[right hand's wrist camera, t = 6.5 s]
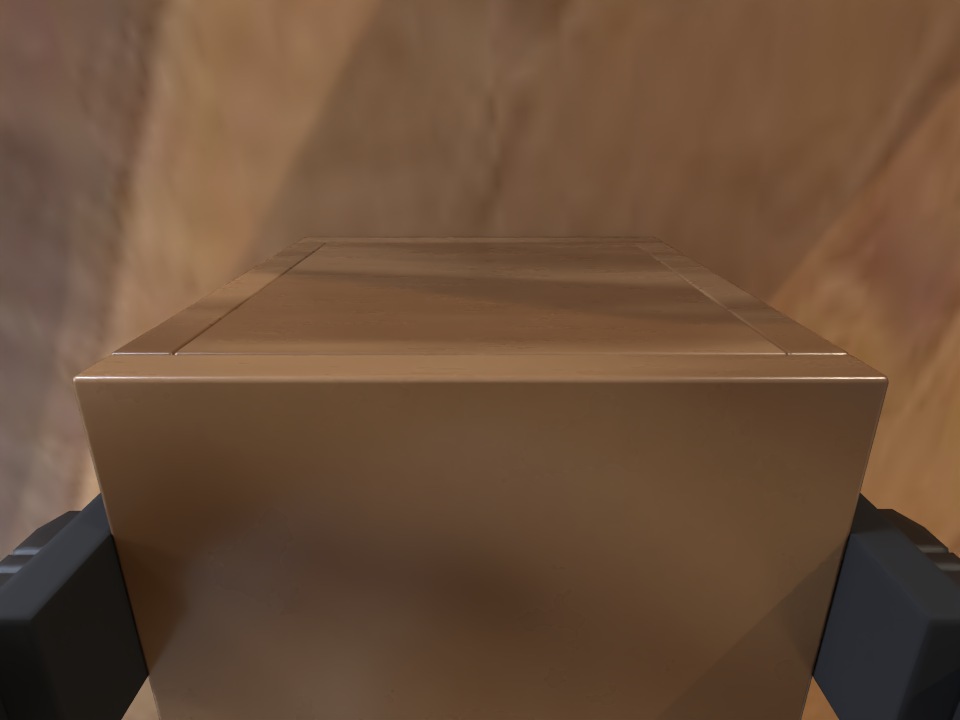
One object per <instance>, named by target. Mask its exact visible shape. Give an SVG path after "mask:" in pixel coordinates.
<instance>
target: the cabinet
mask: <svg viewBox="0 0 960 720" xmlns="http://www.w3.org/2000/svg"><path fill="white" fill-rule="evenodd" d="M72 383H73V387H74V391H75V395H76V399H77V403H78V406H79V410H80V414H81V418H82V422H83V426H84V430H85V433H86V437H87V441H88V445H89V449H90V453H91V457H92V460H93V464H94V468H95V472H96V476H97V480H98V484H99V487H100V491H101V495H102V499H103V503H104V507H105V511H106V514H107V518H108V522H109V526H110V530H111V534H112V538H113V541H114V545H115V549H116V553H117V557H118V561H119V565H120V569H121V572H122V576H123V580H124V584H125V588H126V592H127V596H128V599H129V603H130V607H131V611H132V615H133V619H134V623H135V626H136V630H137V634H138V638H139V642H140V646H141V650H142V653H143V657H144V661H145V665H146V669H147V673H148V677H149V680H150V684H151V688H152V692H153V696H154V700H155V704H156V707H157V711H158V715H159V719H160V720H801V717H802V713H803V710H804V706H805V702H806V698H807V694H808V690H809V686H810V683H811V679H812V675H813V671H814V667H815V663H816V660H817V656H818V652H819V648H820V644H821V640H822V636H823V633H824V629H825V625H826V621H827V617H828V613H829V610H830V606H831V602H832V598H833V594H834V590H835V586H836V583H837V579H838V575H839V571H840V567H841V563H842V560H843V556H844V552H845V548H846V544H847V540H848V536H849V533H850V529H851V525H852V521H853V517H854V513H855V510H856V506H857V502H858V498H859V494H860V490H861V486H862V483H863V479H864V475H865V471H866V467H867V463H868V460H869V456H870V452H871V448H872V444H873V440H874V437H875V433H876V429H877V425H878V421H879V417H880V413H881V410H882V406H883V402H884V398H885V394H886V390H887V387H888V378H887V376H885V375H883V374H882V373H880V372H878V371H877V370H875V369H873V368H872V367H870V366H868V365H867V364H865V363H863V362H862V361H860V360H858V359H857V358H855V357H853V356H851V355H848V353H847V352H846V351H844V350H842V349H841V348H839V347H837V346H836V345H834V344H832V343H831V342H829V341H827V340H825V339H824V338H822V337H820V336H819V335H817V334H815V333H814V332H812V331H810V330H809V329H807V328H805V327H804V326H802V325H800V324H799V323H797V322H795V321H794V320H792V319H790V318H789V317H787V316H785V315H784V314H782V313H780V312H779V311H777V310H775V309H774V308H772V307H770V306H769V305H767V304H765V303H764V302H762V301H760V300H759V299H757V298H755V297H754V296H752V295H750V294H749V293H747V292H745V291H744V290H742V289H740V288H738V287H737V286H735V285H733V284H732V283H730V282H728V281H727V280H725V279H723V278H722V277H720V276H718V275H717V274H715V273H713V272H712V271H710V270H708V269H707V268H705V267H703V266H702V265H700V264H698V263H697V262H695V261H693V260H692V259H690V258H688V257H687V256H685V255H683V254H682V253H680V252H678V251H677V250H675V249H673V248H672V247H670V246H668V245H667V244H665V243H663V242H662V241H660V240H658V239H657V238H655V237H305V238H303V239H302V240H300V241H298V242H297V243H295V244H293V245H291V246H290V247H288V248H286V249H285V250H283V251H281V252H280V253H278V254H276V255H275V256H273V257H271V258H270V259H268V260H266V261H265V262H263V263H261V264H260V265H258V266H256V267H255V268H253V269H251V270H250V271H248V272H246V273H245V274H243V275H241V276H240V277H238V278H236V279H235V280H233V281H231V282H230V283H228V284H226V285H225V286H223V287H221V288H220V289H218V290H216V291H215V292H213V293H211V294H210V295H208V296H206V297H205V298H203V299H201V300H200V301H198V302H196V303H195V304H193V305H191V306H190V307H188V308H186V309H185V310H183V311H181V312H180V313H178V314H176V315H175V316H173V317H171V318H170V319H168V320H166V321H164V322H163V323H161V324H159V325H158V326H156V327H154V328H153V329H151V330H149V331H148V332H146V333H144V334H143V335H141V336H139V337H138V338H136V339H134V340H133V341H131V342H129V343H128V344H126V345H124V346H123V347H121V348H119V349H118V350H116V351H114V352H113V353H112V355H110V356H108V357H106V358H104V359H103V360H101V361H99V362H98V363H96V364H94V365H93V366H91V367H89V368H88V369H86V370H84V371H83V372H81V373H79V374H78V375H76V376H74V378H73V382H72Z"/></svg>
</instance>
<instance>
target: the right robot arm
mask: <svg viewBox="0 0 960 720" xmlns="http://www.w3.org/2000/svg"><path fill="white" fill-rule="evenodd" d="M812 676H813V677H814V679H815V681H816V682H817V684H818V685H819V687H820V689H821V690H822V692H823V694H824V695H825V697H826V699H827V700H828V702H829V703H830V705H831V707H832V708H833V710H834V712H835V713H836V715H837V717H838V718H839V720H960V559H959V558H958V557H957V556H956V555H955V554H954V553H949V552H948V548H947V547H946V546H945V545H944V544H943V543H941V542H940V541H939V540H938V539H937V538H936V537H935V536H934V535H932V534H931V533H930V532H929V531H928V530H927V529H926V528H925V527H923V526H921V525H919V524H918V523H916V522H914V521H912V520H910V519H909V518H907V517H905V516H903V515H902V514H900V513H898V512H896V511H894V510H893V509H877V508H876V507H875V506H874V505H873V504H871V503H870V502H869V501H868V500H867V499H866V498H865V497H864V496H863V495H862V494H861V493H860V494H859V498H858V502H857V506H856V510H855V513H854V517H853V521H852V525H851V529H850V533H849V536H848V540H847V544H846V548H845V552H844V556H843V560H842V563H841V567H840V571H839V575H838V579H837V583H836V586H835V590H834V594H833V598H832V602H831V606H830V610H829V613H828V617H827V621H826V625H825V629H824V633H823V636H822V640H821V644H820V648H819V652H818V656H817V660H816V663H815V667H814V671H813V675H812ZM147 677H148V673H147V669H146V665H145V661H144V657H143V653H142V650H141V646H140V642H139V638H138V634H137V630H136V626H135V623H134V619H133V615H132V611H131V607H130V603H129V599H128V596H127V592H126V588H125V584H124V580H123V576H122V572H121V569H120V565H119V561H118V557H117V553H116V549H115V545H114V541H113V538H112V534H111V530H110V526H109V522H108V518H107V514H106V511H105V507H104V503H103V499H102V495H101V493H100V494H99V495H98V496H97V497H96V498H95V499H93V500H92V501H91V502H90V503H89V504H88V505H87V506H86V507H85V508H84V509H83V510H82V511H69V512H67V513H65V514H63V515H61V516H60V517H58V518H56V519H54V520H53V521H51V522H49V523H47V524H46V525H44V526H42V527H40V528H38V529H37V530H36V531H35V532H34V533H32V534H31V535H30V536H29V537H28V538H27V539H26V540H25V541H23V542H22V543H21V544H20V545H19V546H18V547H17V548H16V549H15V550H13V555H8V556H7V557H6V558H4V559H3V560H2V561H1V562H0V720H121V719H122V718H123V716H124V714H125V713H126V711H127V709H128V708H129V706H130V704H131V703H132V701H133V700H134V698H135V696H136V695H137V693H138V691H139V690H140V688H141V686H142V685H143V683H144V682H145V680H146V678H147Z"/></svg>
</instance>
